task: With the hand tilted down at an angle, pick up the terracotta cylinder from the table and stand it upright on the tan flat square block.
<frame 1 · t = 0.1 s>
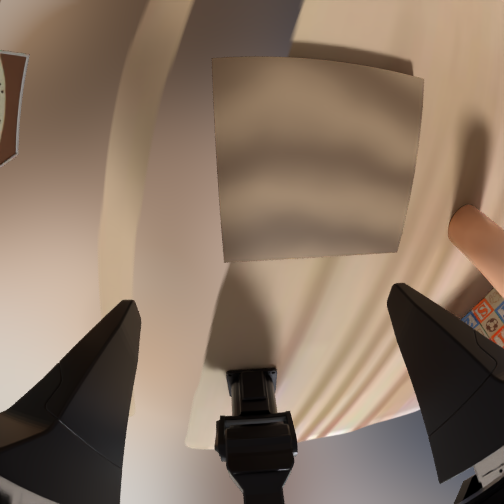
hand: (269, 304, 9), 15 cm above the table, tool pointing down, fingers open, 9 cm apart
stack of blocks: (467, 321, 36), on the table
terracotta cylinder: (463, 224, 26), on the table
food container: (1, 105, 16), on the table
tan flat square block: (321, 161, 22), on the table
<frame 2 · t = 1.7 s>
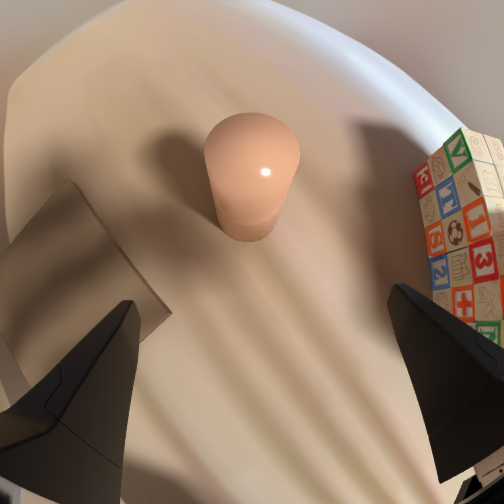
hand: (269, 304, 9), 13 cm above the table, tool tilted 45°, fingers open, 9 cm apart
stack of blocks: (449, 273, 24), on the table
terracotta cylinder: (247, 212, 24), on the table
tan flat square block: (58, 300, 22), on the table
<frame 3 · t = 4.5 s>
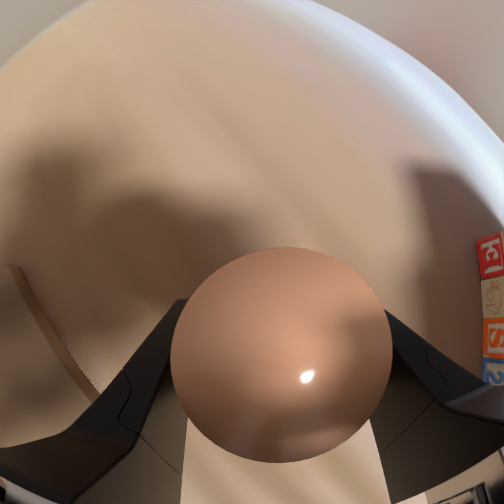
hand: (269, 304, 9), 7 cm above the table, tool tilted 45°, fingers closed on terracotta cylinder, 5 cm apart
stack of blocks: (499, 365, 16), on the table
terracotta cylinder: (259, 333, 16), on the table, touching gripper
tan flat square block: (23, 417, 13), on the table
when the fingers open (9 cm above the table, at t = 9.9 s): terracotta cylinder drops 1 cm, resting on tan flat square block.
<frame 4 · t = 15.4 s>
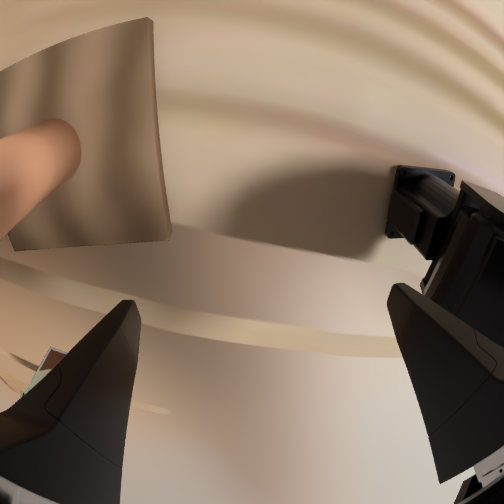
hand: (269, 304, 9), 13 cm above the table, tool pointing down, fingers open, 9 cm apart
terracotta cylinder: (53, 151, 16), point 2 cm above the table, touching tan flat square block
food container: (83, 368, 32), on the table
tan flat square block: (62, 146, 17), on the table
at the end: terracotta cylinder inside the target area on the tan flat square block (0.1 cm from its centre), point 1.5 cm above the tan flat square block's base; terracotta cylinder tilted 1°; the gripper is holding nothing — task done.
